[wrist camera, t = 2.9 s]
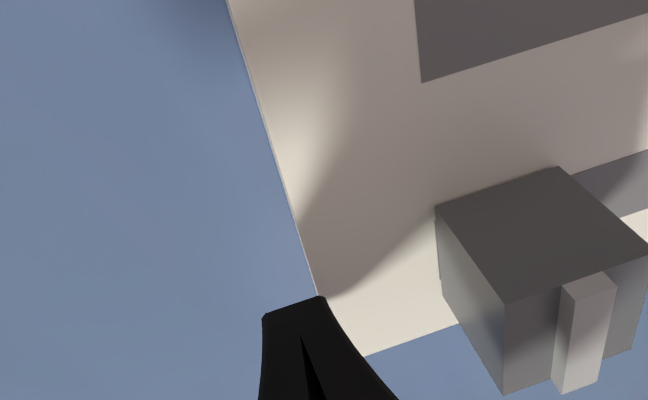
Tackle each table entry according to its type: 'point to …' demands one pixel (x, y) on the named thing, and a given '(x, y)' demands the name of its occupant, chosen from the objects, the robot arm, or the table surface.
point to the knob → (541, 279)
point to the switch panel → (436, 129)
